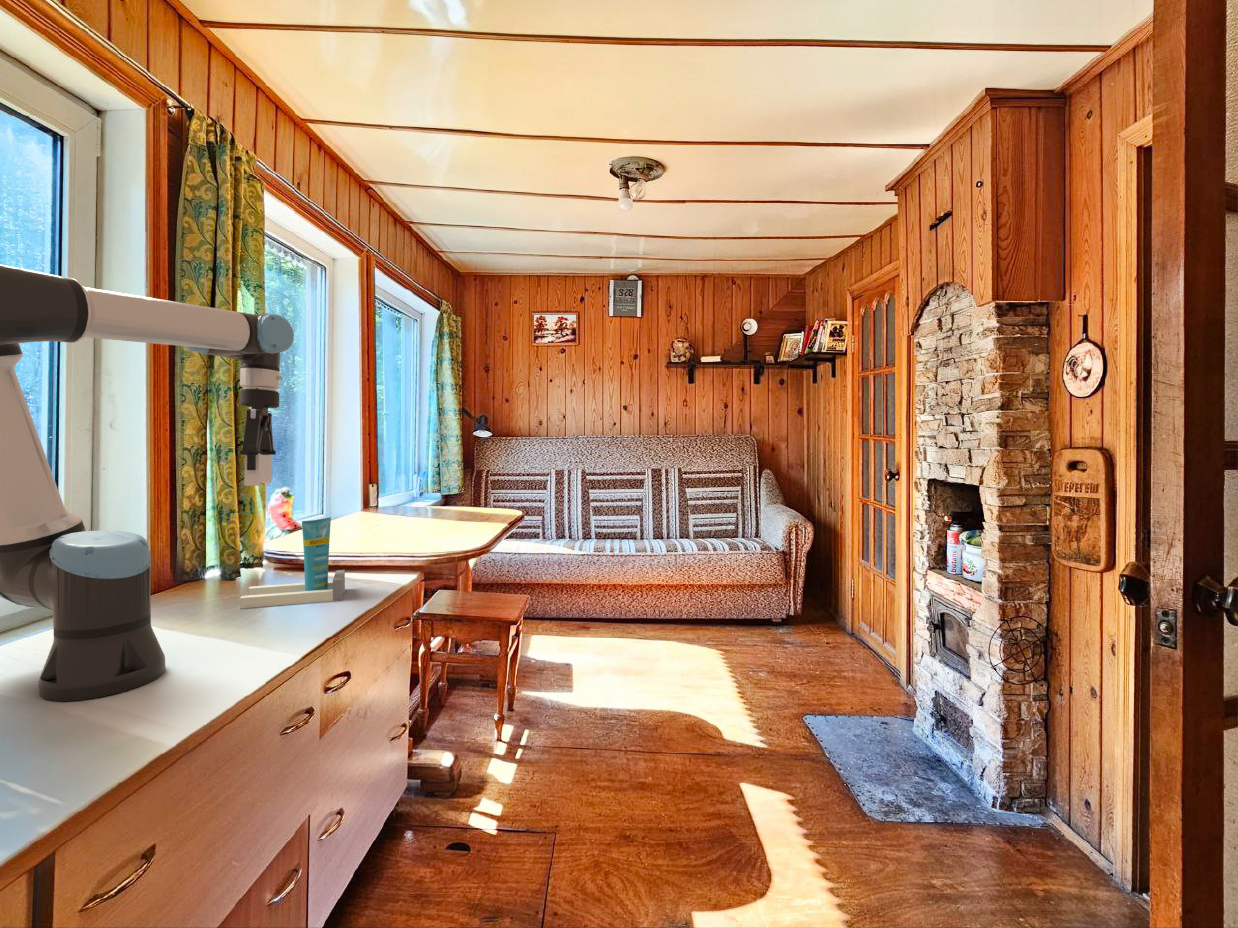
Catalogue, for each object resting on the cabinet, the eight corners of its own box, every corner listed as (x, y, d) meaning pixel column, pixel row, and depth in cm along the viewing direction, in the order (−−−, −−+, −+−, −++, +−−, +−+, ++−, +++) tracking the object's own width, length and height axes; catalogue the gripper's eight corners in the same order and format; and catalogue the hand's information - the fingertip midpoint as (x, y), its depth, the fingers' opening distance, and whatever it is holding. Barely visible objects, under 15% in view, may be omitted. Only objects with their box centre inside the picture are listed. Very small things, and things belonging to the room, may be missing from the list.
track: (342, 600, 141) (342, 579, 141) (240, 608, 133) (239, 586, 133) (344, 589, 151) (344, 569, 151) (250, 596, 144) (250, 576, 143)
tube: (310, 601, 140) (309, 521, 139) (296, 599, 142) (295, 520, 141) (336, 594, 146) (336, 517, 146) (322, 591, 148) (322, 516, 148)
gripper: (268, 384, 121) (266, 487, 122) (288, 395, 145) (286, 481, 145) (226, 382, 119) (224, 487, 119) (252, 393, 142) (251, 481, 142)
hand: (258, 484), depth 132 cm, fingers open, 13 cm apart
